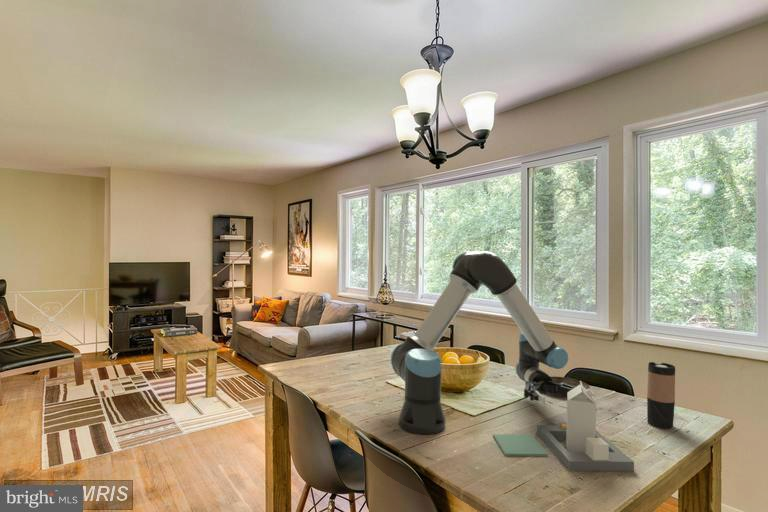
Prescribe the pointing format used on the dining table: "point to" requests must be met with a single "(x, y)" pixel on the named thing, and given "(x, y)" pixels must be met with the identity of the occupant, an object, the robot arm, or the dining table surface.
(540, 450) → the felt pad
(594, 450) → the grey open frame
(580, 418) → the milk carton
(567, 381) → the plant saucer
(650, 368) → the travel mug
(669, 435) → the dining table surface
